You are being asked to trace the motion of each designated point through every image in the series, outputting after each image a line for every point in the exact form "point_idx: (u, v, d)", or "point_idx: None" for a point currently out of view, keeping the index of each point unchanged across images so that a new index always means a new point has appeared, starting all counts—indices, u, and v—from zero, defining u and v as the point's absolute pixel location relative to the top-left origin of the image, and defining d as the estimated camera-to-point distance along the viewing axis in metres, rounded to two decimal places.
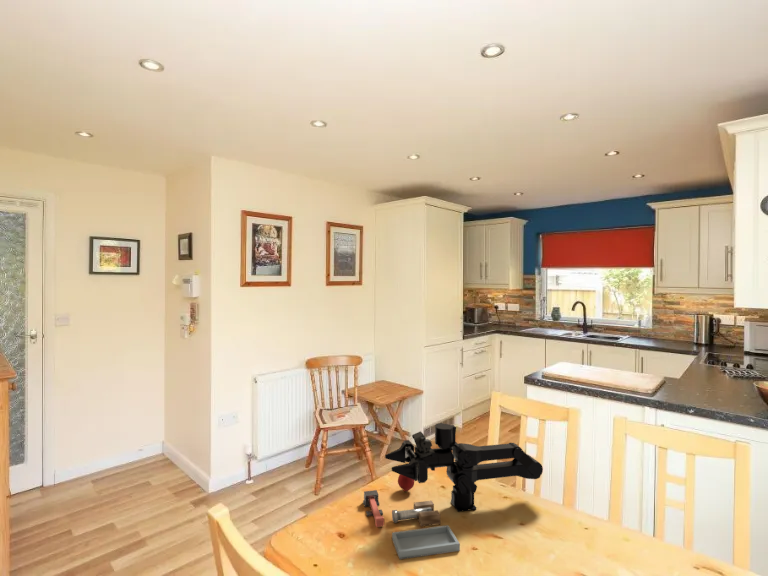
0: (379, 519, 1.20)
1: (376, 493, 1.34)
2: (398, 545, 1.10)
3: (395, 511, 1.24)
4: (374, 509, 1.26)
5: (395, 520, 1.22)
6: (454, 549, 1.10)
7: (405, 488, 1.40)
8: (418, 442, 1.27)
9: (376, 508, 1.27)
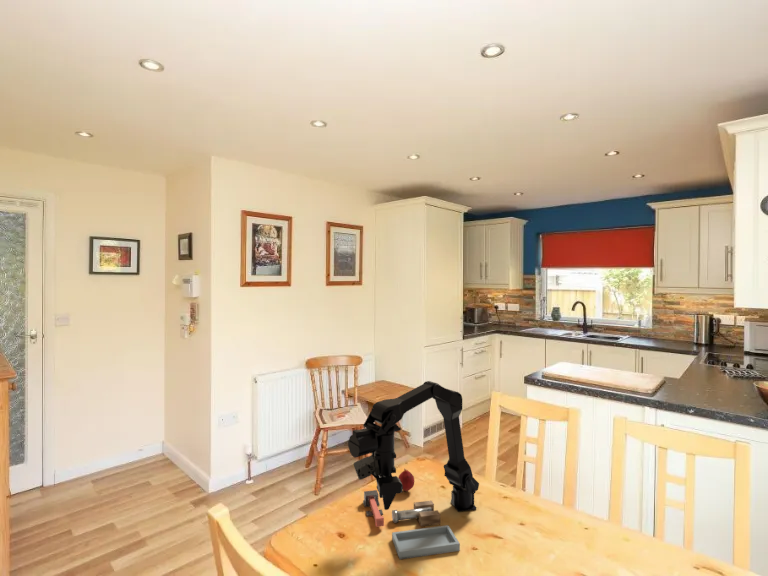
0: (379, 519, 1.20)
1: (376, 493, 1.34)
2: (398, 545, 1.10)
3: (395, 511, 1.24)
4: (374, 509, 1.26)
5: (395, 520, 1.22)
6: (454, 549, 1.10)
7: (405, 488, 1.40)
8: None
9: (376, 508, 1.27)
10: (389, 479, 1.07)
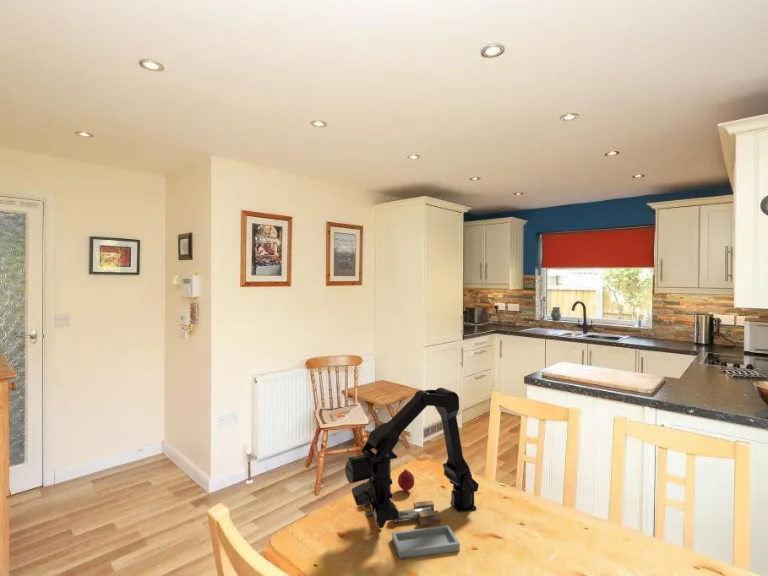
0: None
1: None
2: (398, 545, 1.10)
3: None
4: None
5: (395, 520, 1.22)
6: (454, 549, 1.10)
7: (405, 488, 1.40)
8: None
9: None
10: (385, 506, 1.12)
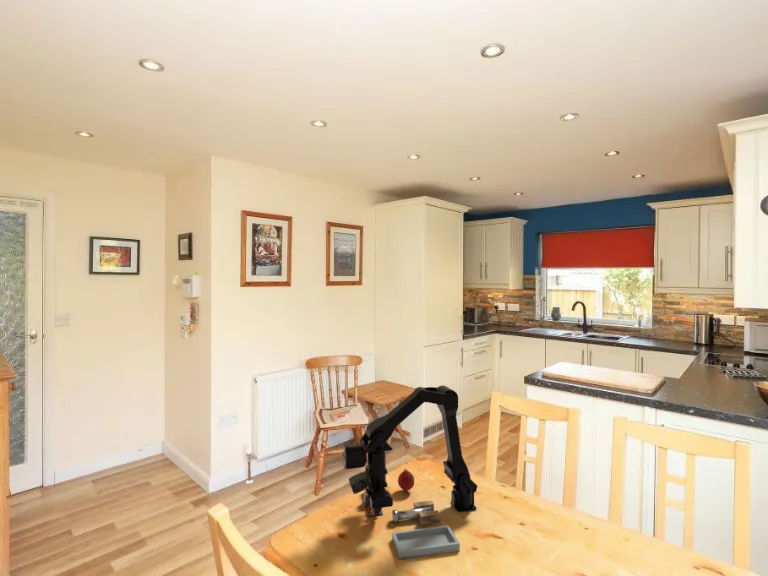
0: None
1: None
2: (398, 545, 1.10)
3: (395, 511, 1.24)
4: None
5: (395, 520, 1.22)
6: (454, 549, 1.10)
7: (405, 488, 1.40)
8: None
9: None
10: (381, 493, 1.18)
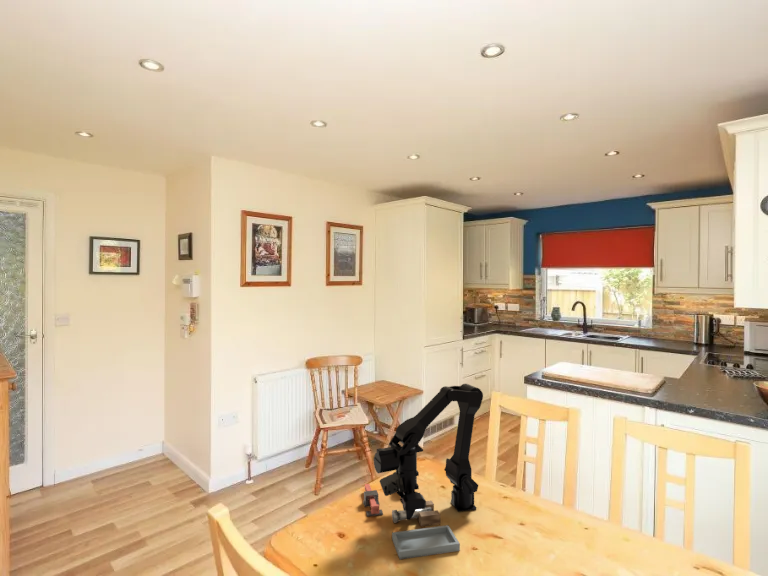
0: (375, 507, 1.26)
1: (376, 493, 1.34)
2: (398, 545, 1.10)
3: (395, 511, 1.24)
4: (370, 498, 1.33)
5: (395, 520, 1.22)
6: (454, 549, 1.10)
7: None
8: None
9: (372, 497, 1.33)
10: (413, 496, 1.18)
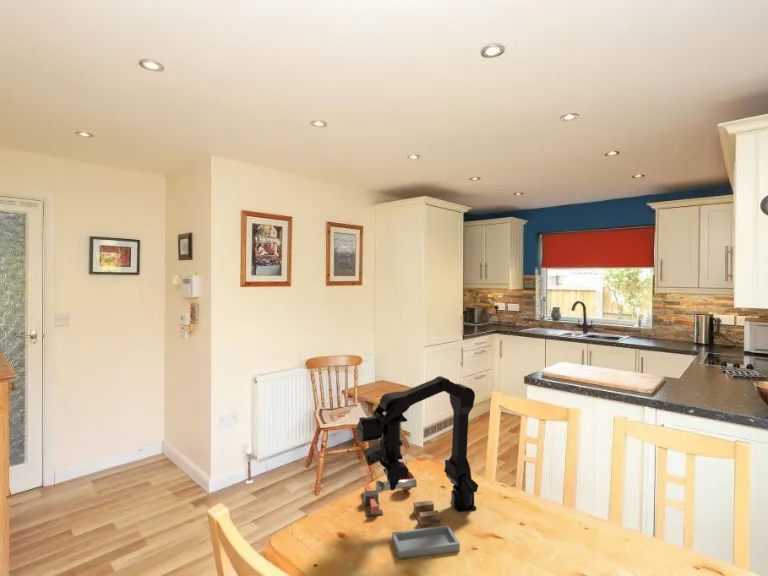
0: (375, 507, 1.26)
1: (376, 493, 1.34)
2: (398, 545, 1.10)
3: (378, 481, 1.22)
4: (370, 498, 1.33)
5: (378, 490, 1.21)
6: (454, 549, 1.10)
7: (405, 488, 1.40)
8: None
9: (372, 497, 1.33)
10: (396, 464, 1.16)
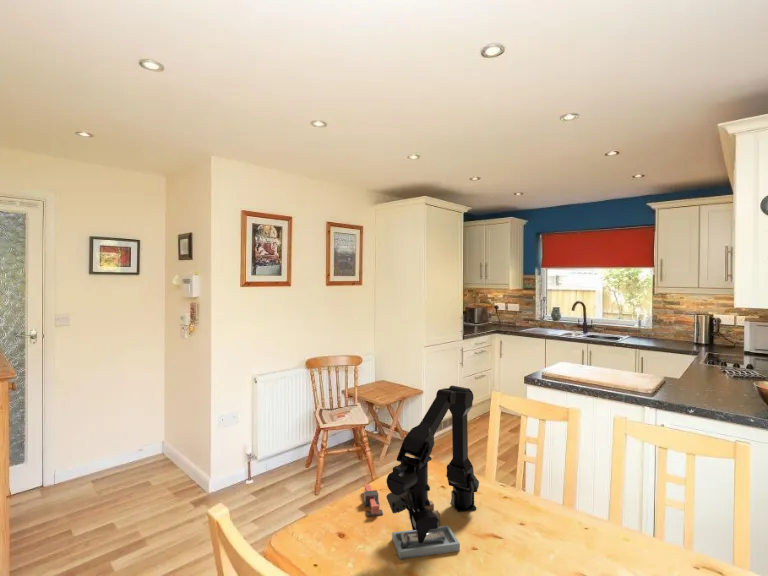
0: (375, 507, 1.26)
1: (376, 493, 1.34)
2: (398, 545, 1.10)
3: (404, 534, 1.11)
4: (370, 498, 1.33)
5: (404, 544, 1.10)
6: (454, 549, 1.10)
7: None
8: None
9: (372, 497, 1.33)
10: (424, 514, 1.06)
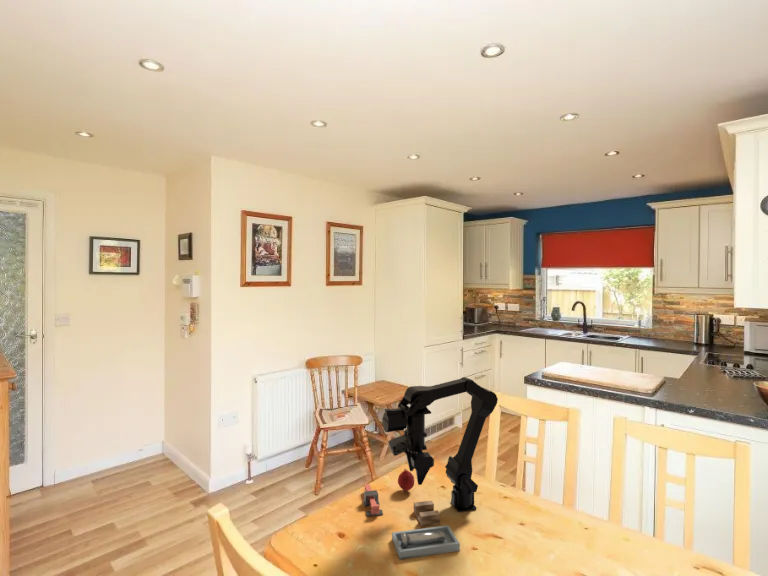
0: (375, 507, 1.26)
1: (376, 493, 1.34)
2: (398, 545, 1.10)
3: (404, 534, 1.11)
4: (370, 498, 1.33)
5: (404, 544, 1.10)
6: (454, 549, 1.10)
7: (405, 488, 1.40)
8: (397, 453, 1.24)
9: (372, 497, 1.33)
10: (422, 454, 1.20)
